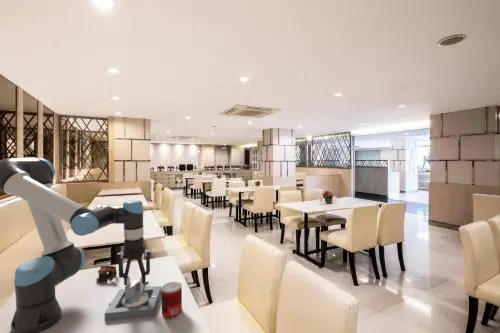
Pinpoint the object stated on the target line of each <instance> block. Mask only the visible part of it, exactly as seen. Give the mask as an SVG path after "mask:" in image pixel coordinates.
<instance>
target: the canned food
mask: <svg viewBox="0 0 500 333" xmlns="http://www.w3.org/2000/svg"><path fill="white" fill-rule="evenodd" d="M182 293H183V292H182V284H181V282H178V281H172V282H168V283H165V284H163V286H161V295H160V297H161V315H162V317H163V318H164V317H165V319H173V318H172V317H174V318H177V317H178V316H180V315H181V313H182V310H183V306H182V305H183V304H182V303H183V301H182V300H183V298H182ZM176 316H177V317H176Z"/></svg>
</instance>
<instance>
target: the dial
mask: <svg viewBox="0 0 500 333" xmlns="http://www.w3.org/2000/svg"><path fill="white" fill-rule="evenodd" d="M145 287H146V286H145V284H143V291H142V292H141V293H140V276H139V277H138V278H136V279H135V280H133V281H131V282H130V284H129V285H127V286H125V287H124V289H125V297H124V298H123V299H122V308H124V307H136V306H146V305H147V304H148V302H149V296H148V294H147V293H145Z"/></svg>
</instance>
